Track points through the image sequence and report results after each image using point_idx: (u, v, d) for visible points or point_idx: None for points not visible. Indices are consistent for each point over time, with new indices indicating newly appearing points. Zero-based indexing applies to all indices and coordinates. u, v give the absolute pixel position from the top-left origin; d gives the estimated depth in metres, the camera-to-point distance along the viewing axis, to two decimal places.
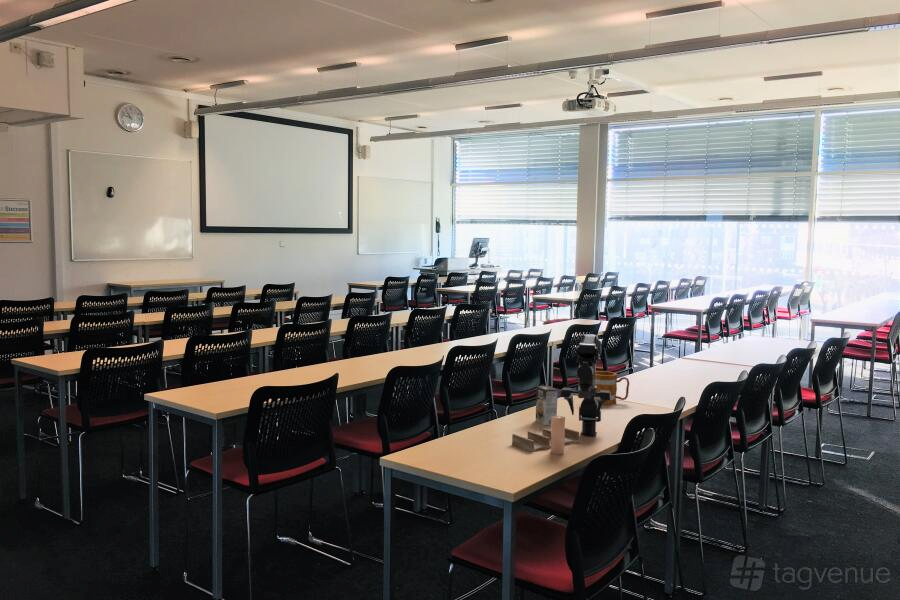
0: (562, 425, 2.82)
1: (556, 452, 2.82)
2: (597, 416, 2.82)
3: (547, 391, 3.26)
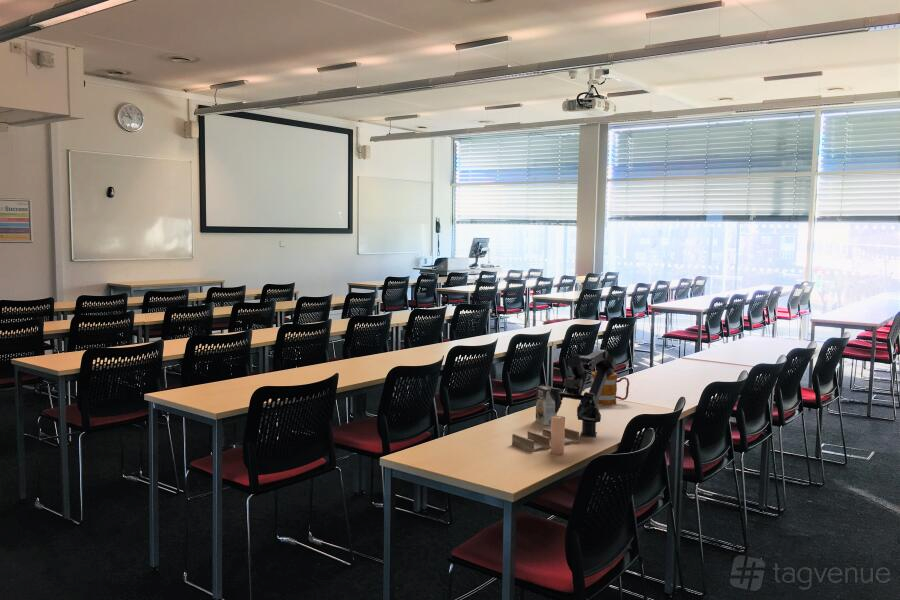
0: (562, 425, 2.82)
1: (556, 452, 2.82)
2: (577, 414, 2.88)
3: (547, 391, 3.26)
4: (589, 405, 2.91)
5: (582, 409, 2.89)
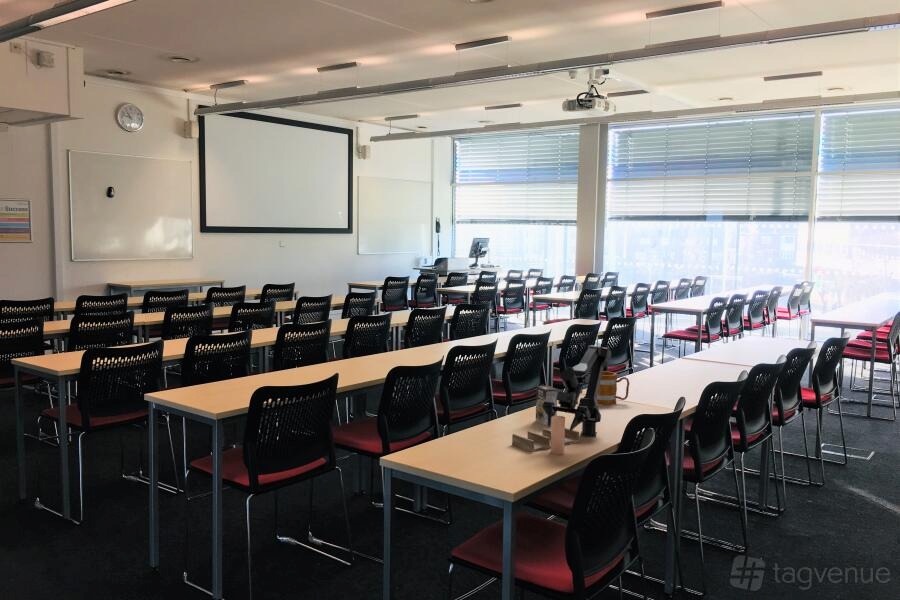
0: (562, 425, 2.82)
1: (556, 452, 2.82)
2: (570, 428, 2.83)
3: (547, 391, 3.26)
4: (582, 419, 2.86)
5: (575, 423, 2.84)
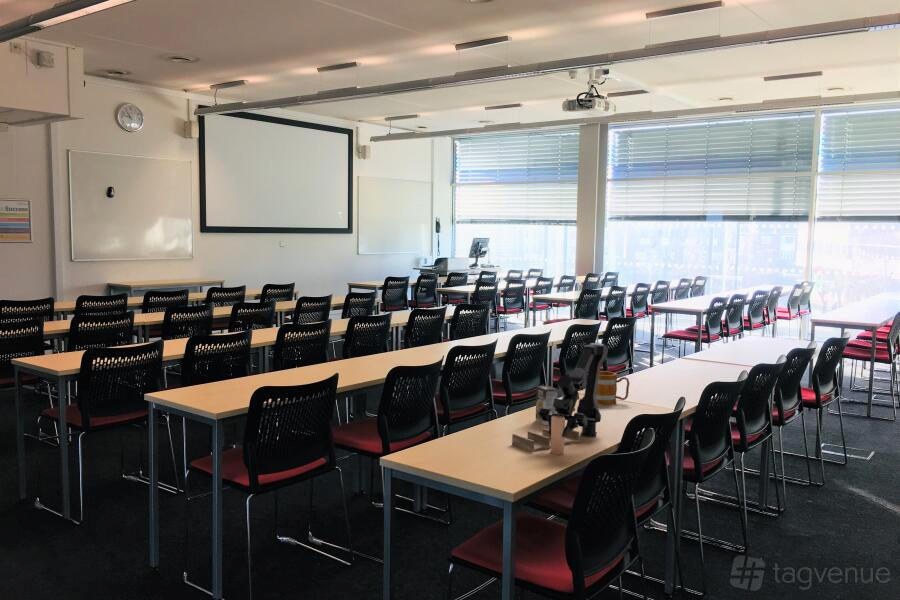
0: (562, 425, 2.82)
1: (556, 452, 2.82)
2: (563, 435, 2.81)
3: (547, 391, 3.26)
4: (575, 425, 2.85)
5: (568, 429, 2.83)
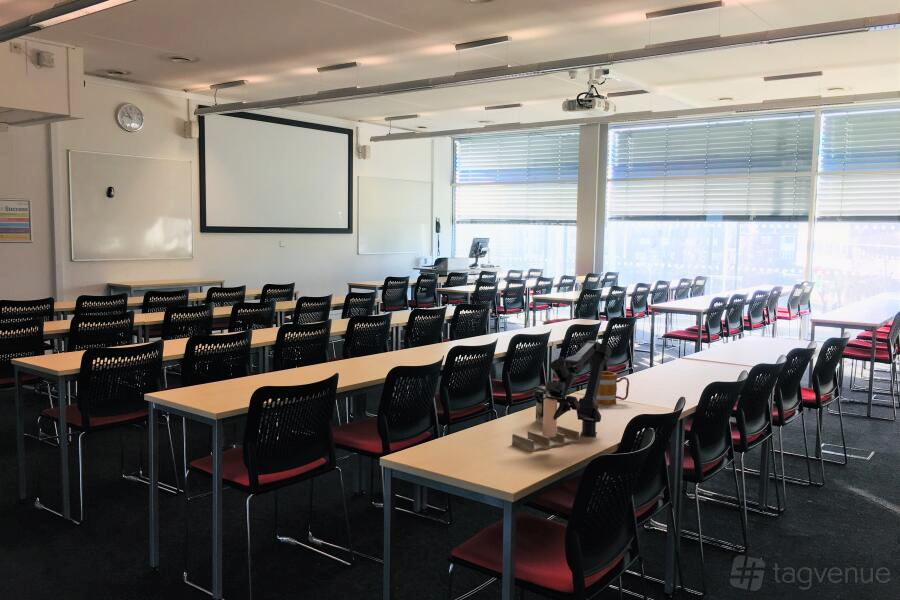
0: (554, 407, 2.83)
1: (548, 434, 2.84)
2: (554, 417, 2.83)
3: (547, 391, 3.26)
4: (567, 408, 2.85)
5: (559, 412, 2.84)
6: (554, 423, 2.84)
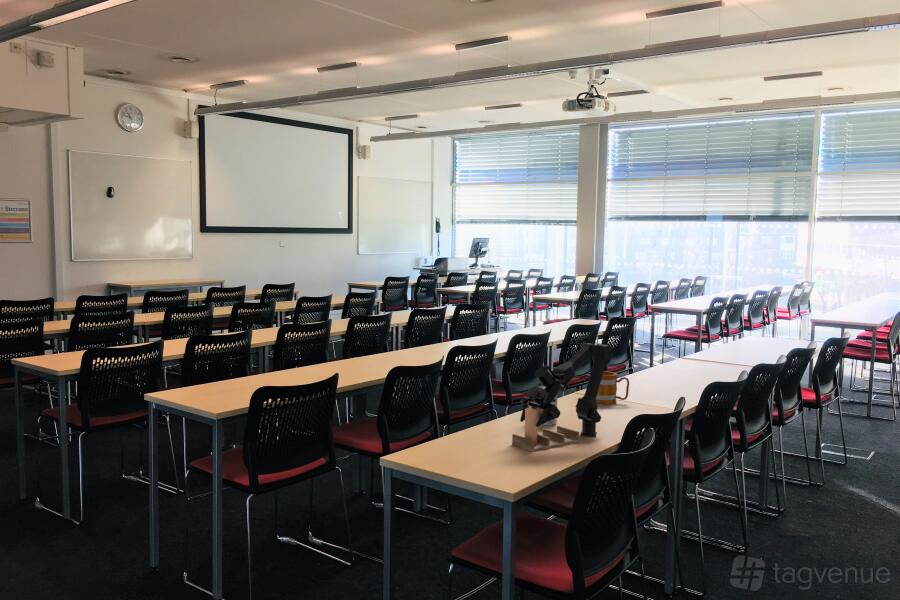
0: (533, 417, 2.90)
1: None
2: (536, 424, 2.88)
3: None
4: (551, 416, 2.89)
5: (542, 420, 2.88)
6: (534, 432, 2.90)
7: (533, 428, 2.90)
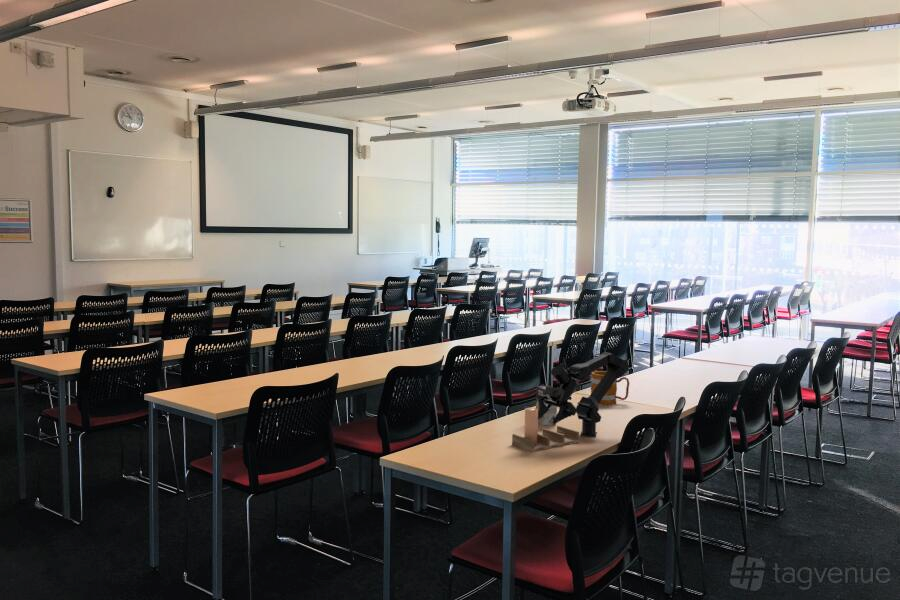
0: (533, 417, 2.90)
1: None
2: (553, 422, 2.93)
3: None
4: (568, 414, 2.94)
5: (559, 417, 2.93)
6: (533, 432, 2.90)
7: (533, 428, 2.90)
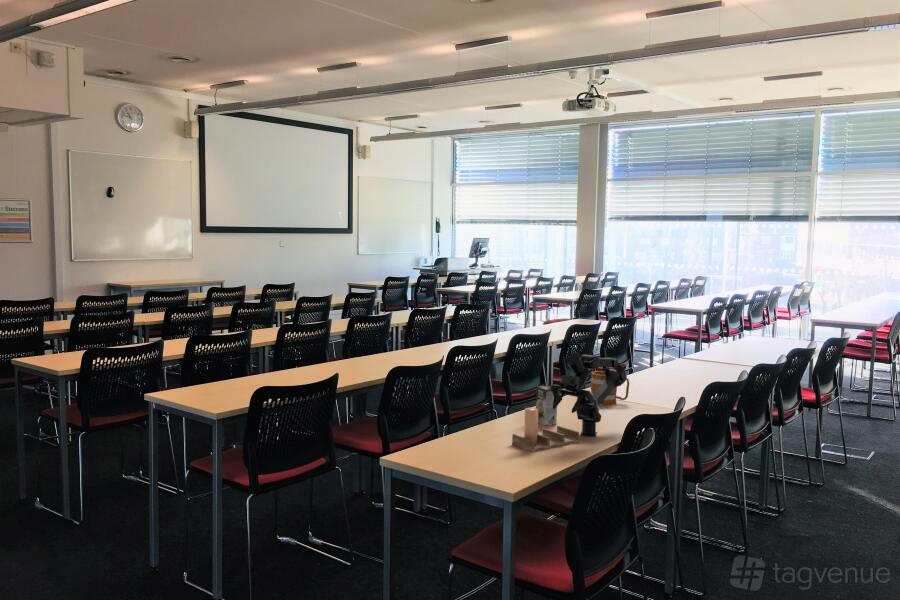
0: (533, 417, 2.90)
1: None
2: (572, 411, 2.94)
3: (547, 391, 3.26)
4: (585, 402, 2.96)
5: (577, 406, 2.94)
6: (533, 432, 2.90)
7: (533, 428, 2.90)
